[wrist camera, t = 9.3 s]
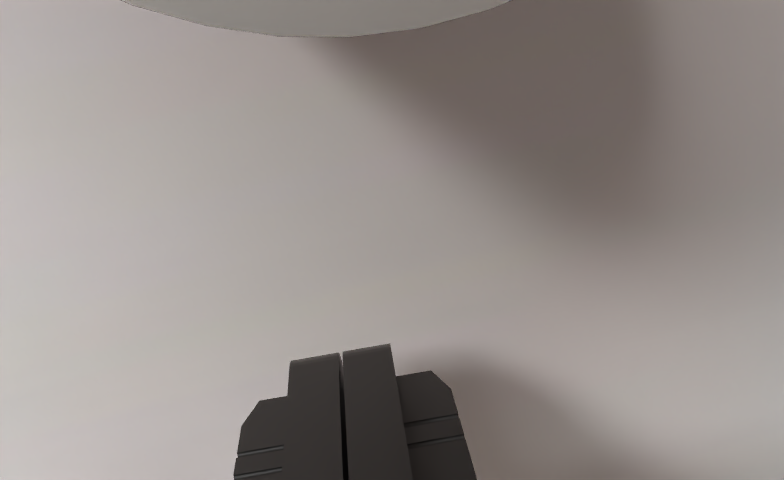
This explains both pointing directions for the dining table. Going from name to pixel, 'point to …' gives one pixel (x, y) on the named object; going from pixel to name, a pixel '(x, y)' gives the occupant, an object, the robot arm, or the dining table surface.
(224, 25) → the grey tumbler
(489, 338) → the dining table surface
